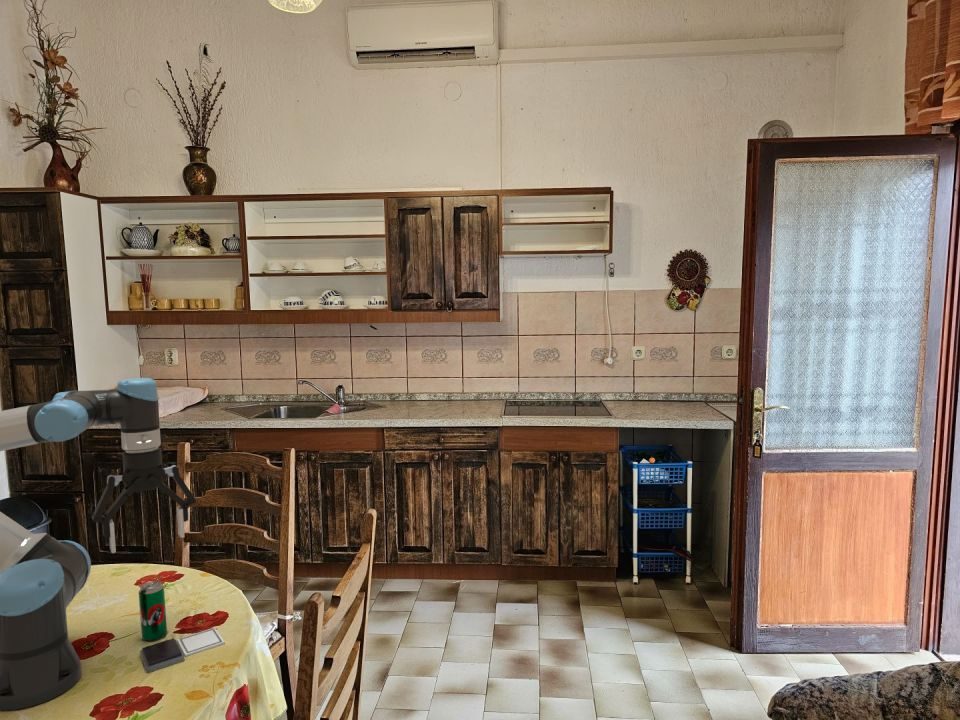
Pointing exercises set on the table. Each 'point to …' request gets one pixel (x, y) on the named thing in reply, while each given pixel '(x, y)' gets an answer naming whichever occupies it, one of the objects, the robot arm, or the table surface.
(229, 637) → the table surface
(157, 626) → the soda can
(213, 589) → the table surface
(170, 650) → the ink pad
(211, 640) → the print card
